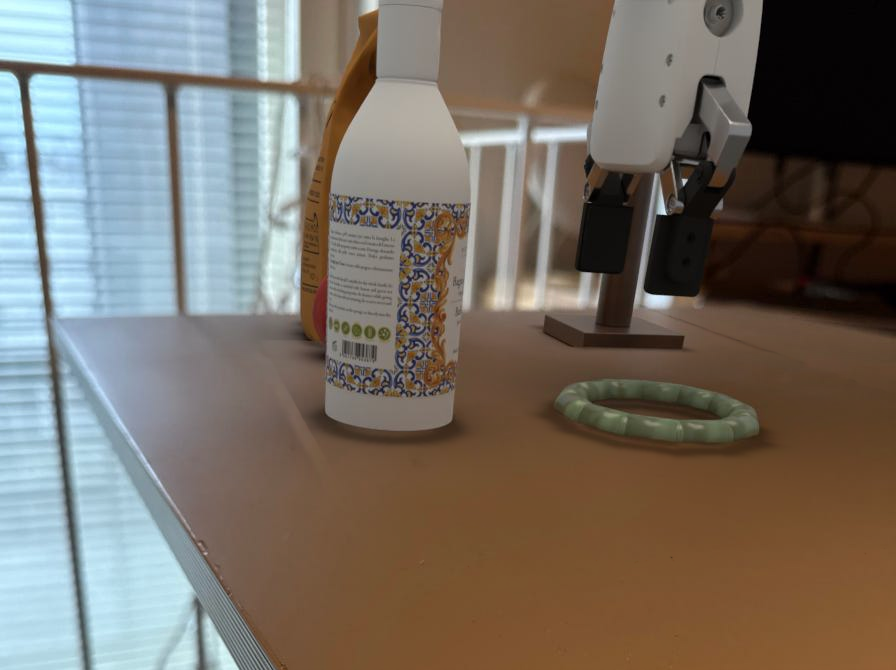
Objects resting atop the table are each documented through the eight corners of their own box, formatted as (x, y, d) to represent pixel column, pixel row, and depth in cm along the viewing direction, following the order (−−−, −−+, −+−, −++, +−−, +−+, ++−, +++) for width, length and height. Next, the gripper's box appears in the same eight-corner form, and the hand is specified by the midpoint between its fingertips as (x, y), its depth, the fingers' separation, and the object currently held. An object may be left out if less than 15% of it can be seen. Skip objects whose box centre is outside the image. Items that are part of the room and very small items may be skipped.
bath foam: (440, 453, 49) (477, -16, 40) (309, 437, 50) (316, -25, 41) (459, 421, 55) (496, 7, 46) (342, 407, 56) (355, 0, 47)
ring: (692, 405, 63) (697, 377, 62) (795, 457, 53) (803, 425, 52) (526, 404, 60) (529, 375, 59) (602, 458, 50) (608, 424, 49)
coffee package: (414, 327, 83) (433, 27, 73) (435, 356, 72) (460, 8, 62) (298, 322, 81) (301, 15, 71) (301, 350, 71) (305, -7, 60)
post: (634, 334, 88) (661, 170, 82) (681, 353, 80) (715, 174, 74) (542, 331, 86) (563, 163, 80) (582, 351, 78) (608, 167, 72)
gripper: (861, -89, 43) (767, 309, 51) (677, -33, 58) (626, 269, 66) (713, -116, 41) (639, 302, 49) (562, -51, 56) (523, 262, 64)
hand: (631, 283), depth 57 cm, fingers open, 9 cm apart
